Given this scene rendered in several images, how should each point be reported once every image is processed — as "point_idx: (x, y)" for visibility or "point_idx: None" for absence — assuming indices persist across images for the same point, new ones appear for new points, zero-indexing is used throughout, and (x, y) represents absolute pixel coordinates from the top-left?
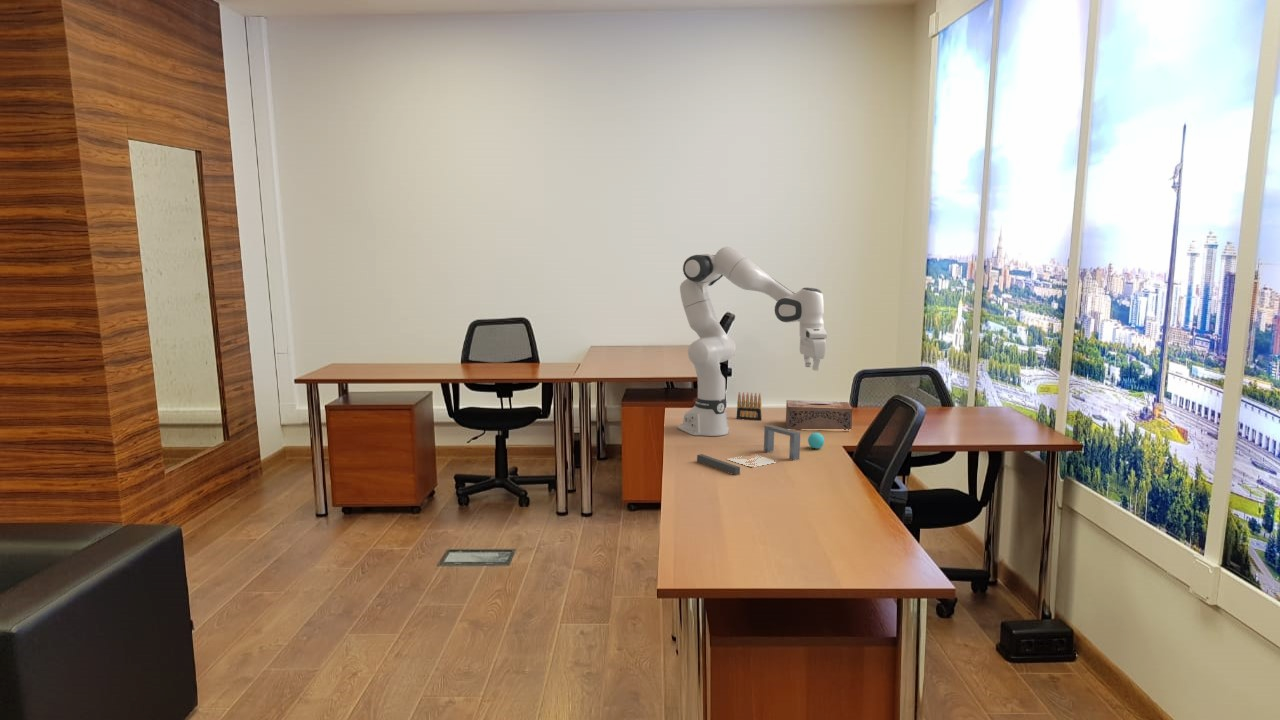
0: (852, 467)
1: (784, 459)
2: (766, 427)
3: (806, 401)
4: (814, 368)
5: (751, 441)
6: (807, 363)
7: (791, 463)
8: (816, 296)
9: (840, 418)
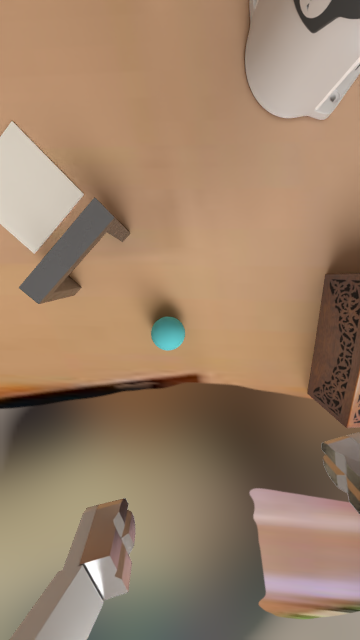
0: (49, 383)
1: None
2: (90, 205)
3: None
4: (79, 533)
5: (206, 187)
6: (356, 484)
7: None
8: None
9: (331, 390)
